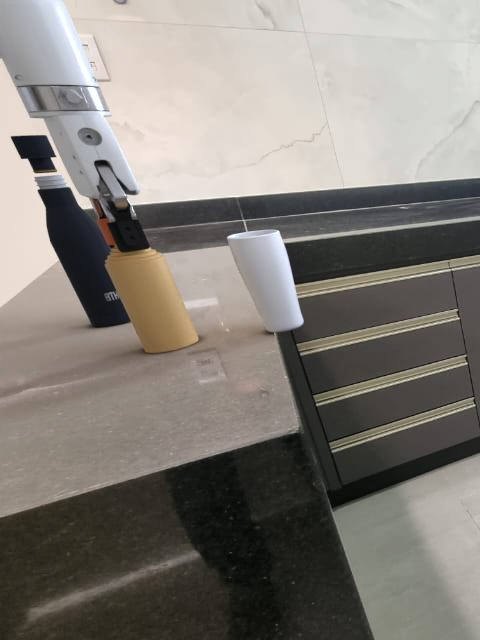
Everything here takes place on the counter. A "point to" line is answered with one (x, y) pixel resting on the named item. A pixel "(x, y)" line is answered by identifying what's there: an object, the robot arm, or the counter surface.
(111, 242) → the cap
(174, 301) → the sauce bottle
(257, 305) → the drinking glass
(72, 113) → the robot arm
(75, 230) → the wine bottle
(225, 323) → the counter surface
